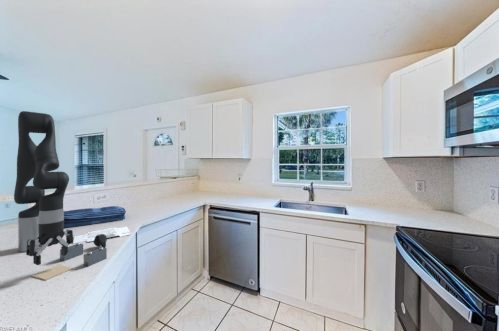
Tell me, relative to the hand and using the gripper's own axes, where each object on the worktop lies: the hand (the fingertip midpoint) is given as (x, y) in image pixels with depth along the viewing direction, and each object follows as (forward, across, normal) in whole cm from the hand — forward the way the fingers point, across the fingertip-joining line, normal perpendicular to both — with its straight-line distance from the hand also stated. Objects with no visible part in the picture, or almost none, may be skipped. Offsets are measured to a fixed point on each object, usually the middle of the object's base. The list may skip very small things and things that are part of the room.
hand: (51, 259), depth 83 cm
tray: (+6, -38, -24) cm, 46 cm away
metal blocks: (+5, -12, 0) cm, 13 cm away
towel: (+6, -58, -63) cm, 86 cm away
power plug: (+8, -22, 0) cm, 23 cm away
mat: (+5, 0, +1) cm, 5 cm away
